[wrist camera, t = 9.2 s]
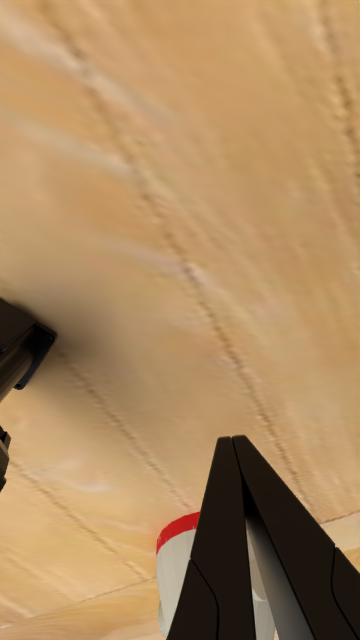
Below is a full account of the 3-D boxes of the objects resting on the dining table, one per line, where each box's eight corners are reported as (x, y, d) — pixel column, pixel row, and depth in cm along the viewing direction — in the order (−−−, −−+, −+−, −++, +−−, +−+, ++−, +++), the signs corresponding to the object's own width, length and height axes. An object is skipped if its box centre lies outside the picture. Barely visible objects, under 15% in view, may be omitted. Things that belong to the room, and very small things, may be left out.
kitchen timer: (227, 493, 30) (271, 745, 16) (288, 547, 34) (363, 778, 21) (133, 540, 33) (104, 781, 20) (200, 583, 38) (214, 802, 24)
